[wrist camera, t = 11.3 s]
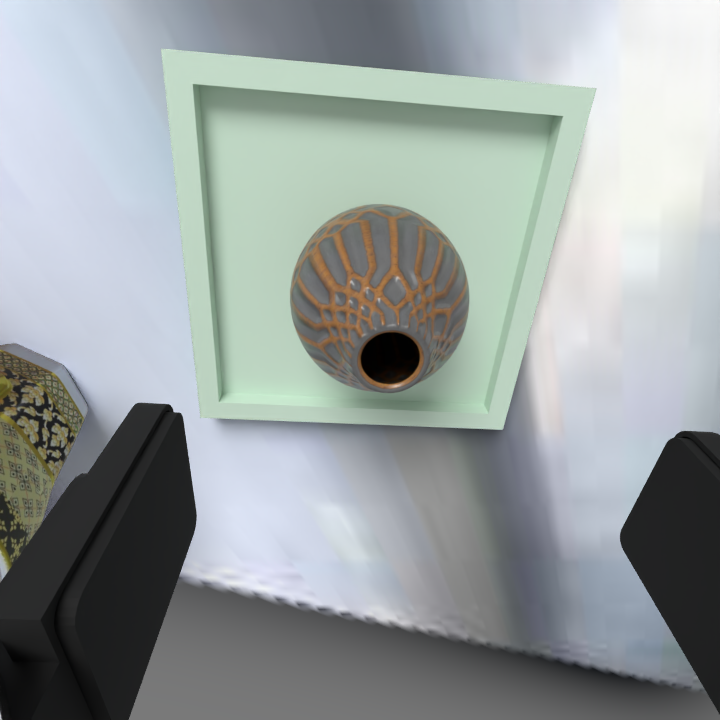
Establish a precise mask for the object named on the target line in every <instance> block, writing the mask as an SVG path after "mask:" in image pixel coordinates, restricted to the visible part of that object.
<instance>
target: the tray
mask: <svg viewBox="0 0 720 720" xmlns="http://www.w3.org/2000/svg"><path fill="white" fill-rule="evenodd" d="M161 53H162V63H163V72H164V81H165V91H166V100H167V109H168V119H169V128H170V137H171V147H172V156H173V165H174V175H175V184H176V193H177V203H178V212H179V221H180V231H181V240H182V250H183V259H184V268H185V278H186V287H187V296H188V306H189V315H190V324H191V334H192V343H193V352H194V362H195V371H196V380H197V390H198V399H199V408H200V418H220V419H245V420H270V421H295V422H321V423H346V424H371V425H396V426H421V427H447V428H472V429H497V430H503V427H504V423H505V419H506V416H507V412H508V409H509V405H510V401H511V398H512V394H513V390H514V387H515V383H516V379H517V376H518V372H519V369H520V365H521V361H522V358H523V354H524V350H525V347H526V343H527V339H528V336H529V332H530V329H531V325H532V321H533V318H534V314H535V310H536V307H537V303H538V299H539V296H540V292H541V288H542V285H543V281H544V278H545V274H546V270H547V267H548V263H549V259H550V256H551V252H552V248H553V245H554V241H555V238H556V234H557V230H558V227H559V223H560V219H561V216H562V212H563V208H564V205H565V201H566V198H567V194H568V190H569V187H570V183H571V179H572V176H573V172H574V168H575V165H576V161H577V158H578V154H579V150H580V147H581V143H582V139H583V136H584V132H585V128H586V125H587V121H588V117H589V114H590V110H591V107H592V103H593V99H594V96H595V92H596V88H586V87H575V86H564V85H553V84H542V83H531V82H520V81H509V80H498V79H488V78H477V77H466V76H455V75H444V74H433V73H422V72H411V71H400V70H389V69H378V68H367V67H356V66H345V65H334V64H323V63H312V62H301V61H290V60H279V59H268V58H258V57H247V56H236V55H225V54H214V53H203V52H192V51H181V50H170V49H161ZM370 204H388V205H395V206H400V207H403V208H406V209H409V210H412V211H414V212H416V213H418V214H420V215H421V216H423V217H425V218H426V219H428V220H429V221H431V222H432V223H433V224H434V225H436V226H437V227H438V228H439V229H440V230H441V231H442V232H443V233H444V234H445V235H446V236H447V238H448V239H449V240H450V241H451V243H452V244H453V246H454V247H455V249H456V251H457V252H458V254H459V256H460V258H461V260H462V262H463V265H464V268H465V271H466V275H467V279H468V285H469V312H468V319H467V323H466V327H465V330H464V333H463V336H462V338H461V340H460V342H459V344H458V346H457V348H456V350H455V351H454V353H453V354H452V356H451V357H450V358H449V360H448V361H447V362H446V363H445V364H444V365H443V366H442V367H441V368H440V369H439V370H438V371H437V372H435V373H434V374H433V375H432V376H430V377H429V378H427V379H426V380H424V381H422V382H420V383H418V384H416V385H414V386H412V387H410V388H409V389H406V390H404V391H401V392H396V393H381V392H370V391H364V390H359V389H356V388H353V387H350V386H347V385H345V384H343V383H341V382H339V381H337V380H335V379H334V378H332V377H331V376H329V375H328V374H327V373H325V372H324V371H323V370H322V369H321V368H320V367H319V366H318V365H317V364H316V363H315V362H314V361H313V360H312V358H311V357H310V356H309V354H308V353H307V352H306V350H305V348H304V347H303V345H302V343H301V341H300V339H299V337H298V335H297V332H296V329H295V326H294V323H293V319H292V315H291V307H290V288H291V281H292V276H293V272H294V269H295V266H296V263H297V260H298V258H299V256H300V254H301V252H302V250H303V248H304V247H305V245H306V243H307V242H308V240H309V239H310V238H311V236H312V235H313V234H314V233H315V232H316V231H317V230H318V229H319V228H320V227H321V226H322V225H323V224H324V223H325V222H327V221H328V220H330V219H331V218H333V217H334V216H336V215H338V214H340V213H342V212H344V211H346V210H349V209H351V208H355V207H358V206H363V205H370Z"/></svg>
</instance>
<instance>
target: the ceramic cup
mask: <svg viewBox="0 0 720 720" xmlns="http://www.w3.org/2000/svg"><path fill="white" fill-rule="evenodd" d="M87 412H88V408H87V404H86V402H85V400H84V398H83V397H82V395H81V393H80V392H79V390H78V388H77V387H76V385H75V383H74V382H73V380H72V378H71V377H70V375H69V373H68V372H67V370H66V368H65V367H64V366H63V365H62V364H60V363H58V362H56V361H54V360H51V359H49V358H47V357H45V356H43V355H40V354H38V353H36V352H34V351H32V350H29V349H27V348H25V347H23V346H20V345H18V344H5V345H0V582H1V581H2V579H3V578H4V577H5V575H6V574H7V572H8V571H9V569H10V568H11V567H12V565H13V564H14V562H15V561H16V560H17V558H18V557H19V555H20V554H21V552H22V551H23V550H24V548H25V547H26V545H27V544H28V543H29V541H30V540H31V538H32V537H33V535H34V534H35V533H36V531H37V530H38V528H39V527H40V526H41V523H42V520H43V517H44V514H45V511H46V508H47V504H48V501H49V498H50V494H51V491H52V488H53V486H54V483H55V481H56V479H57V477H58V474H59V472H60V470H61V468H62V466H63V464H64V462H65V460H66V458H67V456H68V454H69V452H70V450H71V448H72V446H73V444H74V442H75V439H76V437H77V435H78V433H79V431H80V429H81V426H82V424H83V422H84V419H85V417H86V415H87Z"/></svg>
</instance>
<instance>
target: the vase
mask: <svg viewBox="0 0 720 720" xmlns="http://www.w3.org/2000/svg"><path fill="white" fill-rule="evenodd" d="M290 307H291V315H292V319H293V323H294V326H295V329H296V332H297V335H298V337H299V339H300V341H301V343H302V345H303V347H304V348H305V350H306V352H307V353H308V354H309V356H310V357H311V358H312V360H313V361H314V362H315V363H316V364H317V365H318V366H319V367H320V368H321V369H322V370H323V371H324V372H325V373H327V374H328V375H329V376H331V377H332V378H334V379H335V380H337V381H339V382H341V383H343V384H345V385H347V386H350V387H353V388H356V389H359V390H364V391H370V392H381V393H396V392H401V391H404V390H406V389H409V388H410V387H412V386H414V385H416V384H418V383H420V382H422V381H424V380H426V379H427V378H429V377H430V376H432V375H433V374H434V373H435V372H437V371H438V370H439V369H440V368H441V367H442V366H443V365H444V364H445V363H446V362H447V361H448V360H449V358H450V357H451V356H452V354H453V353H454V351H455V350H456V348H457V346H458V344H459V342H460V340H461V338H462V336H463V333H464V330H465V327H466V323H467V319H468V312H469V285H468V279H467V275H466V271H465V268H464V265H463V262H462V260H461V258H460V256H459V254H458V252H457V251H456V249H455V247H454V246H453V244H452V243H451V241H450V240H449V239H448V238H447V236H446V235H445V234H444V233H443V232H442V231H441V230H440V229H439V228H438V227H437V226H436V225H434V224H433V223H432V222H431V221H429V220H428V219H426V218H425V217H423V216H421V215H420V214H418V213H416V212H414V211H412V210H409V209H406V208H403V207H400V206H395V205H388V204H370V205H363V206H358V207H355V208H351V209H349V210H346V211H344V212H342V213H340V214H338V215H336V216H334V217H333V218H331V219H330V220H328V221H327V222H325V223H324V224H323V225H322V226H321V227H320V228H319V229H318V230H317V231H316V232H315V233H314V234H313V235H312V236H311V238H310V239H309V240H308V242H307V243H306V245H305V247H304V248H303V250H302V252H301V254H300V256H299V258H298V260H297V263H296V266H295V269H294V272H293V276H292V281H291V288H290Z"/></svg>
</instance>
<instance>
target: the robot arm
mask: <svg viewBox="0 0 720 720" xmlns="http://www.w3.org/2000/svg"><path fill="white" fill-rule="evenodd" d="M196 517H197V515H196V507H195V500H194V493H193V485H192V478H191V471H190V464H189V457H188V450H187V443H186V436H185V429H184V422H183V417H182V414H181V413H174V412H173V408H172V407H171V405H169V404H153V403H137V404H135V405H134V406H133V407H132V409H131V410H130V412H129V413H128V415H127V416H126V418H125V419H124V421H123V422H122V424H121V425H120V427H119V428H118V429H117V431H116V432H115V434H114V435H113V437H112V438H111V440H110V441H109V443H108V444H107V446H106V447H105V449H104V450H103V452H102V453H101V454H100V456H99V457H98V459H97V460H96V462H95V463H94V465H93V466H92V468H91V469H90V471H89V472H88V474H81V475H79V476H77V477H76V478H75V479H74V480H73V481H72V482H71V483H70V484H69V486H68V487H67V489H66V490H65V492H64V493H63V494H62V496H61V497H60V499H59V500H58V501H57V503H56V504H55V506H54V507H53V509H52V510H51V511H50V513H49V514H48V516H47V517H46V518H45V520H44V521H43V523H42V524H41V526H40V527H39V528H38V530H37V531H36V533H35V534H34V535H33V537H32V538H31V540H30V541H29V543H28V544H27V545H26V547H25V548H24V550H23V551H22V552H21V554H20V555H19V557H18V558H17V560H16V561H15V562H14V564H13V565H12V567H11V568H10V569H9V571H8V572H7V574H6V575H5V577H4V578H3V579H2V581H1V582H0V720H128V719H129V717H130V714H131V711H132V708H133V705H134V703H135V699H136V697H137V694H138V691H139V688H140V686H141V683H142V680H143V677H144V674H145V671H146V669H147V666H148V663H149V660H150V657H151V654H152V651H153V649H154V646H155V643H156V640H157V637H158V634H159V631H160V629H161V626H162V623H163V620H164V617H165V614H166V612H167V608H168V606H169V603H170V600H171V597H172V594H173V592H174V589H175V586H176V583H177V580H178V577H179V574H180V572H181V569H182V566H183V563H184V560H185V557H186V555H187V552H188V549H189V546H190V543H191V540H192V537H193V535H194V531H195V527H196ZM620 542H621V545H622V548H623V550H624V552H625V554H626V555H627V557H628V559H629V561H630V562H631V564H632V566H633V567H634V569H635V571H636V572H637V574H638V576H639V578H640V579H641V581H642V583H643V584H644V586H645V588H646V589H647V591H648V593H649V595H650V596H651V598H652V600H653V601H654V603H655V605H656V607H657V608H658V610H659V612H660V613H661V615H662V617H663V618H664V620H665V622H666V624H667V625H668V627H669V629H670V630H671V632H672V634H673V636H674V637H675V639H676V641H677V642H678V644H679V646H680V647H681V649H682V651H683V653H684V654H685V656H686V658H687V659H688V661H689V663H690V665H691V666H692V668H693V670H694V671H695V673H696V675H697V676H698V678H699V680H700V682H701V683H702V685H703V687H704V688H705V690H706V692H707V694H708V695H709V697H710V699H711V700H712V702H713V704H714V705H715V707H716V708H717V710H718V712H719V714H720V435H719V434H716V433H713V432H696V431H682V432H680V433H678V434H676V436H675V437H674V438H672V439H670V440H669V441H668V442H667V443H666V445H665V447H664V449H663V451H662V453H661V455H660V457H659V459H658V461H657V462H656V464H655V466H654V468H653V470H652V472H651V474H650V476H649V478H648V480H647V482H646V484H645V485H644V487H643V489H642V491H641V493H640V495H639V497H638V499H637V501H636V503H635V505H634V507H633V508H632V510H631V512H630V514H629V516H628V518H627V520H626V522H625V524H624V526H623V528H622V530H621V533H620Z"/></svg>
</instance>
